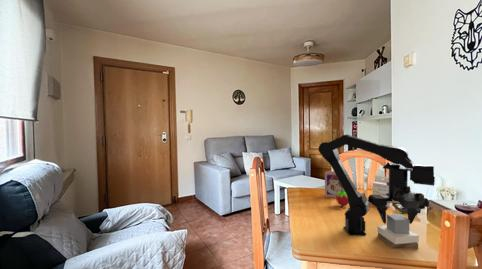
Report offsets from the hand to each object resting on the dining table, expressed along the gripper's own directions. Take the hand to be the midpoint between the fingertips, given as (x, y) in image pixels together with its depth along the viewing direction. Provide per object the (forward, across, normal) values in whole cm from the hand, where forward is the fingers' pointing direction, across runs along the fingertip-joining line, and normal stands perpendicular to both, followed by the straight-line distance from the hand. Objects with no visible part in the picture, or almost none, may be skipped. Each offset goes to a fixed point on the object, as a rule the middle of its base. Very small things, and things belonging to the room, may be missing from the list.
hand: (397, 223), depth 86 cm
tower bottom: (+8, 0, 0) cm, 8 cm away
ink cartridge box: (+7, +16, +40) cm, 44 cm away
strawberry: (+7, -6, +36) cm, 37 cm away
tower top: (+5, 0, 0) cm, 5 cm away
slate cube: (+3, 0, 0) cm, 3 cm away
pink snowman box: (+7, -4, +54) cm, 55 cm away
